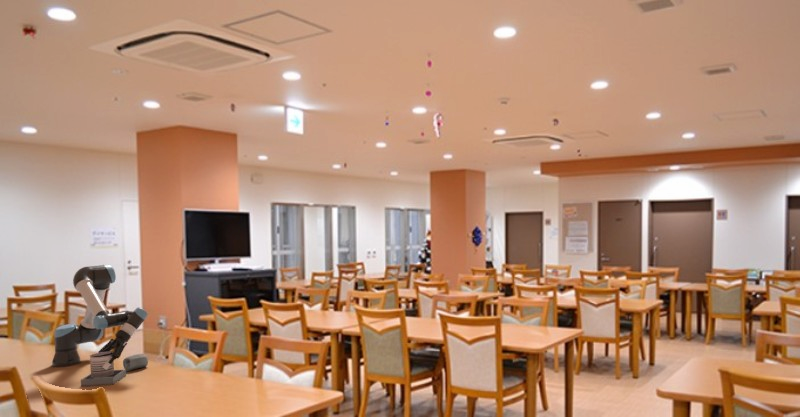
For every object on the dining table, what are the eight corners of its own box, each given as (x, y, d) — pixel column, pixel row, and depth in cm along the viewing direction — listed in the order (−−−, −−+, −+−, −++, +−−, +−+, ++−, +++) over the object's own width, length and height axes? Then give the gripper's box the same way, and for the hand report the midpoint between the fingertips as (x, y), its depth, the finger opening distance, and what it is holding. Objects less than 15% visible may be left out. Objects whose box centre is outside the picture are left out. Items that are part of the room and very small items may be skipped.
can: (96, 378, 307) (95, 356, 307) (86, 375, 314) (85, 353, 314) (118, 373, 316) (117, 351, 316) (108, 370, 323) (107, 349, 323)
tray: (95, 377, 324) (95, 371, 324) (126, 375, 325) (125, 369, 325) (81, 386, 307) (80, 379, 307) (113, 384, 308) (113, 377, 308)
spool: (125, 367, 329) (126, 350, 334) (119, 373, 335) (121, 356, 340) (150, 368, 338) (151, 352, 343) (144, 373, 344) (144, 357, 349)
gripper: (141, 338, 321) (115, 373, 309) (119, 334, 335) (93, 368, 323) (132, 330, 317) (104, 366, 304) (110, 327, 331) (83, 360, 318)
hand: (98, 367), depth 313 cm, fingers closed on can, 11 cm apart
